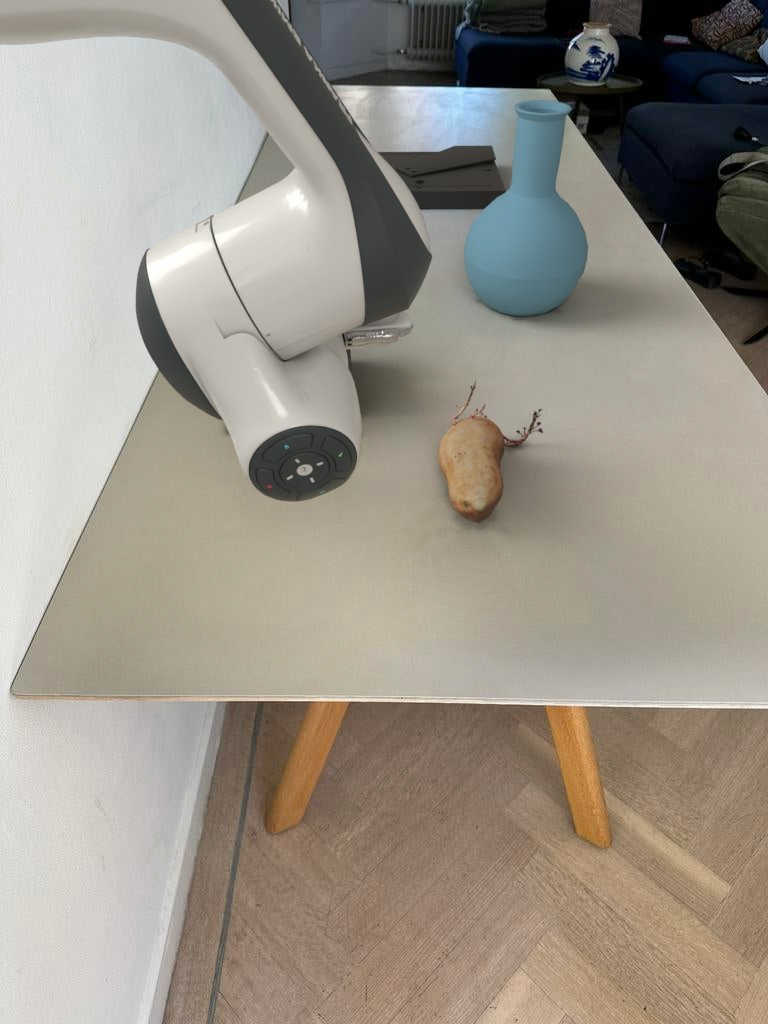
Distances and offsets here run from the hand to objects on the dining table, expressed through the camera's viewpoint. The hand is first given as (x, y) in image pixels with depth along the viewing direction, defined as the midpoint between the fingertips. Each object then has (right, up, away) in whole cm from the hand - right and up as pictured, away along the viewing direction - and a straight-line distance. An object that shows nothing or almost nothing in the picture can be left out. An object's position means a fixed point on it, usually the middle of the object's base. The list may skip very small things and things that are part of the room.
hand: (277, 274), depth 70 cm
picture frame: (+17, +40, +75) cm, 87 cm away
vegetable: (+21, -19, +7) cm, 29 cm away
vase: (+29, +8, +38) cm, 49 cm away
